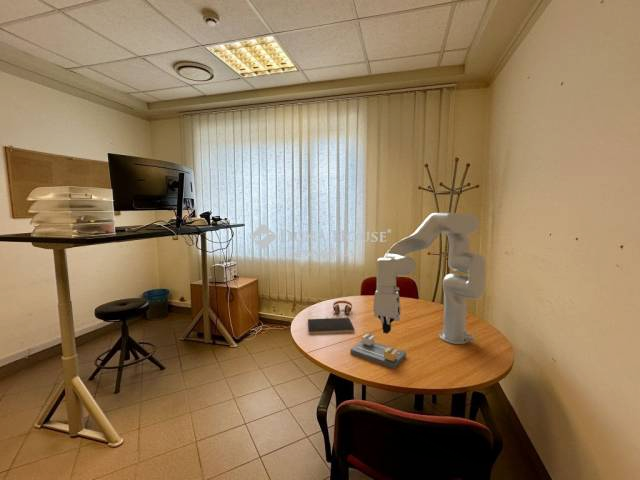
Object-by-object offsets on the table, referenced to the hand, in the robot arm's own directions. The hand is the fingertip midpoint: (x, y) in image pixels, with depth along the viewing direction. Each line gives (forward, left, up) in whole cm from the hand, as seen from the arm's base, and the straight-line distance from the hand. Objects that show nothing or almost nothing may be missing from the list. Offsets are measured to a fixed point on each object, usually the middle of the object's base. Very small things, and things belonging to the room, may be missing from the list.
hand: (386, 332), depth 115 cm
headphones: (+43, -33, -13) cm, 56 cm away
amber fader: (-2, +1, -10) cm, 10 cm away
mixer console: (+5, -2, -13) cm, 14 cm away
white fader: (+11, -5, -10) cm, 16 cm away
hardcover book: (+38, -14, -13) cm, 43 cm away
